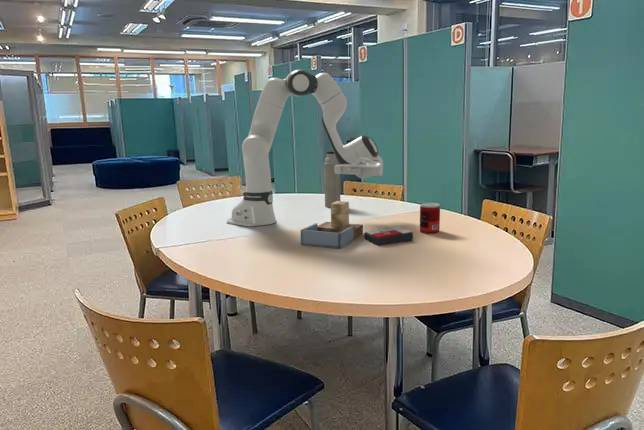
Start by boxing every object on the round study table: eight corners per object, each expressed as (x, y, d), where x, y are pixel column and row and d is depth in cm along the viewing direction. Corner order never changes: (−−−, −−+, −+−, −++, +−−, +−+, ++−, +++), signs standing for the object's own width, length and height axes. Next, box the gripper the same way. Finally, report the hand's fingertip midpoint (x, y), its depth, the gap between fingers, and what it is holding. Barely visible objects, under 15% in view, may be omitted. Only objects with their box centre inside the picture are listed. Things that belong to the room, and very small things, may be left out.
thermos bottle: (341, 204, 259) (340, 150, 253) (339, 207, 251) (338, 152, 246) (326, 204, 261) (325, 151, 255) (323, 207, 253) (322, 152, 247)
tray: (300, 244, 184) (300, 230, 183) (315, 236, 195) (315, 223, 193) (340, 248, 177) (340, 233, 176) (353, 240, 188) (353, 226, 187)
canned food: (441, 229, 201) (442, 203, 199) (437, 234, 194) (437, 206, 192) (422, 228, 204) (422, 202, 202) (417, 233, 197) (418, 205, 195)
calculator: (363, 230, 189) (397, 224, 194) (364, 241, 190) (397, 235, 195) (377, 237, 179) (413, 230, 184) (378, 248, 180) (413, 241, 185)
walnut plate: (315, 236, 195) (315, 227, 194) (326, 231, 203) (326, 221, 203) (353, 240, 188) (353, 230, 187) (363, 234, 197) (362, 224, 196)
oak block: (331, 226, 194) (330, 203, 192) (337, 223, 199) (337, 201, 198) (343, 227, 192) (342, 204, 190) (349, 224, 197) (348, 201, 195)
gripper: (341, 160, 218) (328, 163, 206) (386, 160, 209) (374, 164, 197) (341, 174, 220) (328, 178, 207) (386, 175, 211) (374, 180, 199)
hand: (351, 171), depth 202 cm, fingers closed
